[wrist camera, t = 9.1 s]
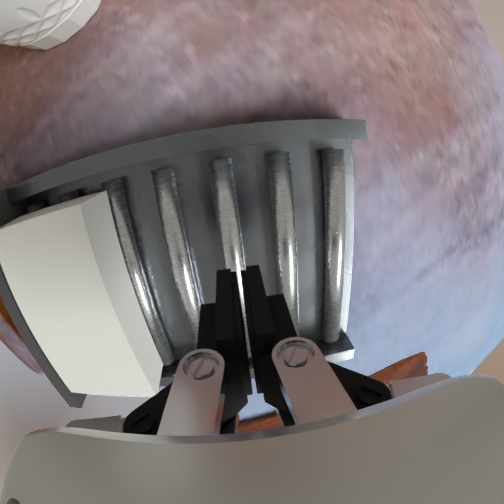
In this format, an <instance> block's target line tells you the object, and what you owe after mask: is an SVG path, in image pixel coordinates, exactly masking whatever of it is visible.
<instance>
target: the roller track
mask: <svg viewBox="0 0 504 504" xmlns="http://www.w3.org/2000/svg"><path fill="white" fill-rule="evenodd" d="M352 139H367V137H366V123H365V120H352V119H306V120H284V121H269V122H257V123H247V124H237V125H229V126H221V127H214V128H208V129H201V130H195V131H189V132H184V133H178V134H173V135H168V136H163V137H159V138H154V139H150V140H146V141H141V142H137V143H133V144H129V145H125V146H122V147H118V148H114V149H111V150H107V151H104V152H101V153H97V154H94V155H91V156H88V157H85V158H82V159H79V160H76V161H73V162H70V163H67V164H64V165H62V166H59V167H56V168H54V169H51V170H49V171H46V172H43V173H41V174H39V175H36V176H34V177H31V178H29V179H27V180H24V181H22V182H20V183H18V184H16V185H13V186H11V187H9V188H7V189H5V190H2V191H0V227H2V226H4V225H5V224H7V223H9V222H11V221H12V220H14V219H16V218H18V217H20V216H23V215H26V214H28V213H31V212H34V211H37V210H40V209H43V208H46V207H50V206H53V205H56V204H59V203H63V202H66V201H69V200H73V199H76V198H80V197H83V196H87V195H91V194H94V193H98V192H102V191H106V190H107V195H108V199H109V204H110V208H111V213H112V217H113V221H114V225H115V229H116V233H117V236H118V240H119V244H120V247H121V251H122V254H123V257H124V261H125V264H126V267H127V271H128V274H129V277H130V280H131V283H132V286H133V289H134V292H135V295H136V297H137V300H138V303H139V306H140V309H141V311H142V314H143V317H144V319H145V322H146V324H147V327H148V329H149V332H150V334H151V337H152V339H153V342H154V344H155V346H156V349H157V351H158V353H159V356H160V358H161V360H162V362H163V368H162V373H161V378H160V384H159V386H168V385H169V384H170V383H172V382H173V380H174V377H175V374H176V370H177V367H178V364H179V362H180V361H181V359H182V358H183V357H184V356H185V355H186V354H188V353H190V352H191V351H194V350H197V339H198V328H199V317H200V307H201V304H208V303H216V275H217V270H222V269H229V268H230V269H231V272H234V271H236V273H237V280H238V287H239V293H240V300H241V306H242V313H243V319H244V326H245V334H246V342H247V351H248V360H249V368H250V376H251V379H253V378H255V375H254V369H253V363H252V357H251V350H250V344H249V337H248V329H247V321H246V313H245V305H244V297H243V288H242V280H241V271H242V270H246V268H245V266H252V265H259V267H260V271H261V275H262V279H263V283H264V288H265V292H266V296H270V295H276V294H283V295H284V297H285V300H286V303H287V306H288V309H289V312H290V315H291V318H292V321H293V324H294V327H295V330H296V333H297V336H298V337H303V338H307V339H309V340H311V341H313V342H314V343H315V344H316V345H317V346H318V348H319V349H320V351H321V352H322V354H323V356H324V357H325V359H326V360H327V361H329V362H331V363H336V362H340V361H344V360H348V359H352V358H353V355H354V347H353V345H352V343H351V342H350V340H349V338H348V336H347V335H346V329H347V321H348V311H349V301H350V290H351V277H352V261H353V238H354V174H353V151H352ZM0 296H1V298H2V300H3V303H4V305H5V307H6V309H7V311H8V313H9V315H10V317H11V319H12V321H13V323H14V324H15V326H16V328H17V330H18V332H19V334H20V335H21V337H22V339H23V340H24V342H25V344H26V345H27V347H28V349H29V350H30V352H31V354H32V355H33V357H34V358H35V360H36V361H37V363H38V364H39V366H40V367H41V369H42V370H43V372H44V373H45V375H46V376H47V377H48V379H49V380H50V381H51V383H52V384H53V385H54V387H55V388H56V389H57V390H58V392H59V393H60V394H61V396H62V397H63V398H64V400H65V401H66V402H67V403H68V404H69V406H70V407H76V408H82V405H83V403H84V400H85V397H86V395H87V394H82V393H74V392H71V391H70V390H69V389H68V387H67V386H66V385H65V383H64V382H63V380H62V379H61V378H60V376H59V375H58V373H57V372H56V370H55V369H54V367H53V366H52V364H51V363H50V361H49V360H48V358H47V357H46V355H45V354H44V352H43V350H42V349H41V347H40V345H39V344H38V342H37V340H36V339H35V337H34V335H33V333H32V331H31V330H30V328H29V326H28V324H27V322H26V320H25V318H24V316H23V314H22V312H21V310H20V308H19V306H18V304H17V302H16V300H15V298H14V296H13V293H12V291H11V289H10V286H9V284H8V282H7V279H6V277H5V274H4V272H3V269H2V266H1V264H0Z"/></svg>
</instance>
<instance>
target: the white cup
mask: <svg viewBox="0 0 504 504" xmlns="http://www.w3.org/2000/svg"><path fill="white" fill-rule="evenodd" d="M101 1H102V0H0V44H6V45H11V46H22V47H26V48H30V49H40V50H48V49H50V48H52V47H54V46H57V45H59V44H61V43H64V42H65V41H67V40H68V39H69V38H70V37H71V36H73V35H74V34H75V33H76V32H78V31H79V30H80V29H82V28H83V27H84V25H85V24H86V23H87V22H88V20H89V19H90V18H91V17H92V16H93V14H94V13H95V12H96V11H97V10H98V8H99V5H100V3H101Z"/></svg>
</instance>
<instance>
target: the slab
mask: <svg viewBox="0 0 504 504" xmlns="http://www.w3.org/2000/svg"><path fill="white" fill-rule="evenodd" d="M0 264H1V266H2V269H3V272H4V274H5V277H6V279H7V282H8V284H9V286H10V289H11V291H12V293H13V296H14V298H15V300H16V302H17V304H18V306H19V308H20V310H21V312H22V314H23V316H24V318H25V320H26V322H27V324H28V326H29V328H30V330H31V331H32V333H33V335H34V337H35V339H36V340H37V342H38V344H39V345H40V347H41V349H42V350H43V352H44V354H45V355H46V357H47V358H48V360H49V361H50V363H51V364H52V366H53V367H54V369H55V370H56V372H57V373H58V375H59V376H60V378H61V379H62V380H63V382H64V383H65V385H66V386H67V387H68V389H69V390H70V391H71V392H74V393H82V394H93V395H107V396H126V397H128V396H129V397H153V396H154V395H156V394H157V393H158V389H159V384H160V378H161V373H162V368H163V362H162V360H161V358H160V356H159V353H158V351H157V349H156V346H155V344H154V342H153V339H152V337H151V334H150V332H149V329H148V327H147V324H146V322H145V319H144V317H143V314H142V311H141V309H140V306H139V303H138V300H137V297H136V295H135V292H134V289H133V286H132V283H131V280H130V277H129V274H128V271H127V267H126V264H125V261H124V257H123V254H122V251H121V247H120V244H119V240H118V236H117V233H116V229H115V225H114V221H113V217H112V213H111V208H110V204H109V199H108V195H107V190H106V191H102V192H98V193H94V194H91V195H87V196H83V197H80V198H76V199H73V200H69V201H66V202H63V203H59V204H56V205H53V206H50V207H46V208H43V209H40V210H37V211H34V212H31V213H28V214H26V215H23V216H20V217H18V218H16V219H14V220H12V221H11V222H9V223H7V224H5V225H4V226H2V227H0Z"/></svg>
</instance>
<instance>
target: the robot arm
mask: <svg viewBox="0 0 504 504" xmlns="http://www.w3.org/2000/svg"><path fill="white" fill-rule="evenodd" d="M245 268H246V270H242V271H241V280H242V288H243V297H244V305H245V313H246V321H247V329H248V337H249V344H250V350H251V357H252V363H253V369H254V375H255V382H256V388H257V394H259V393H263V394H264V400H265V402H266V403H268V404H270V405H272V406H273V407H275V408H276V412H277V415H278V417H279V420H280V423H281V425H282V428H276V429H269V430H262V431H254V432H245V433H238V424H239V411H240V410H241V409H242V408H243V407H244V406H245V405H246V403H248V399H247V395H251V394H253V393H252V384H251V376H250V368H249V360H248V351H247V342H246V334H245V326H244V319H243V313H242V306H241V300H240V293H239V287H238V280H237V273H236V271H234V272H231V269H230V268H229V269H222V270H217V275H216V303H208V304H201V307H200V317H199V328H198V339H197V350H194V351H191V352H190V353H188V354H186V355H185V356H184V357H183V358H182V359H181V361H180V362H179V364H178V367H177V370H176V374H175V377H174V380H173V382H172V383H170V384H169V385H168V386H166V387H165V388H164V389H162V390H161V391H160V392H158V393H157V394H156V395H154V396H153V397H152V398H150V399H149V400H148V401H146V402H145V403H143V404H142V405H141V406H139V407H138V408H137V409H135V410H134V411H132V412H131V413H130V414H129V415H128V416H127V417H126V418H122V417H121V416H120V415H119V416H112V417H104V418H94V419H83V420H74V421H71V422H70V423H68V424H67V426H66V427H53V428H45V429H39V430H36V431H33V432H30V433H28V434H26V435H25V436H24V437H23V438H22V439H21V440H20V441H19V443H18V444H17V446H16V448H15V450H14V453H13V455H12V458H11V460H10V463H9V466H8V469H7V473H6V477H5V480H4V485H3V490H2V494H1V501H0V504H504V384H503V383H502V382H500V381H499V380H498V379H496V378H494V377H492V376H489V375H479V374H476V375H464V376H458V377H453V378H451V377H450V376H449V375H446V374H443V373H436V374H431V375H425V376H419V377H413V378H407V379H400V380H392V381H391V382H390V384H384V383H382V382H380V381H378V380H376V379H373V378H370V377H367V376H365V375H362V374H359V373H357V372H354V371H351V370H349V369H346V368H344V367H341V366H339V365H336V364H334V363H331V362H329V361H327V360H326V359H325V357H324V356H323V354H322V352H321V351H320V349H319V348H318V346H317V345H316V344H315V343H314V342H313V341H311V340H309V339H307V338H303V337H298V336H297V333H296V330H295V327H294V324H293V321H292V318H291V315H290V312H289V309H288V306H287V303H286V300H285V297H284V295H283V294H276V295H270V296H266V292H265V288H264V283H263V279H262V275H261V271H260V267H259V265H252V266H245Z"/></svg>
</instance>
